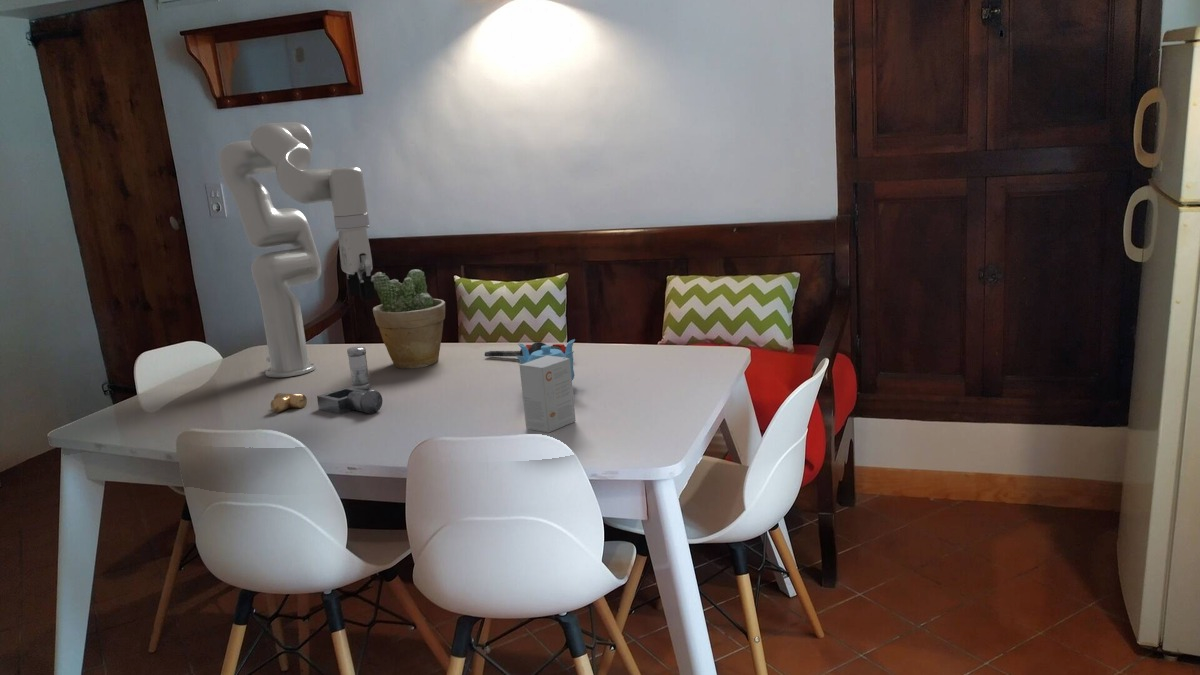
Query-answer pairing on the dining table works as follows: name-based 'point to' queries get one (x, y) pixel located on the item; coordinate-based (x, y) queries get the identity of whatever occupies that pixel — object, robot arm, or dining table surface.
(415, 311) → the potted plant
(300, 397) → the bronze tee
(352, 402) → the grey framed piece
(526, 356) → the teapot
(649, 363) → the dining table surface
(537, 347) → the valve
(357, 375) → the silver capped cylinder
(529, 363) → the small box
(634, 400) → the dining table surface
